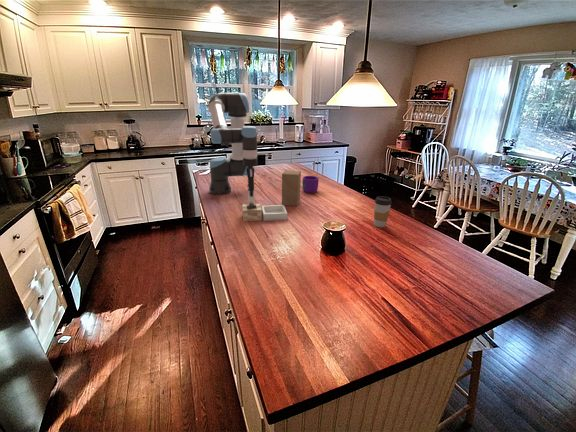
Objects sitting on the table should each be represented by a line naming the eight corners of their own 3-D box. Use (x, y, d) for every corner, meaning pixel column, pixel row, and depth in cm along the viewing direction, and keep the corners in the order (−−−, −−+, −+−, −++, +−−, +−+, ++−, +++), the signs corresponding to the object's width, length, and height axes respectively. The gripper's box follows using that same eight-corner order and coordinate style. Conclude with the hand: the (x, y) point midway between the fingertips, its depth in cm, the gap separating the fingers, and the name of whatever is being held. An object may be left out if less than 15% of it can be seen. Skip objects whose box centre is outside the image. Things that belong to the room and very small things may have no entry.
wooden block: (297, 206, 180) (298, 174, 172) (281, 205, 181) (281, 173, 174) (299, 201, 189) (301, 170, 181) (284, 199, 190) (285, 169, 183)
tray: (261, 212, 169) (261, 205, 168) (283, 211, 172) (283, 204, 170) (263, 221, 158) (263, 214, 156) (287, 219, 160) (287, 213, 158)
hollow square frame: (242, 214, 166) (242, 204, 164) (260, 213, 168) (259, 203, 166) (243, 221, 157) (242, 210, 155) (261, 220, 159) (261, 209, 156)
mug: (320, 192, 206) (321, 179, 202) (305, 194, 203) (305, 180, 199) (311, 186, 221) (312, 173, 217) (297, 187, 218) (297, 174, 214)
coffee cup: (376, 220, 161) (380, 194, 155) (390, 225, 155) (395, 198, 150) (368, 224, 155) (372, 198, 150) (382, 229, 150) (387, 202, 144)
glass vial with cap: (248, 208, 162) (247, 184, 157) (254, 207, 163) (253, 183, 157) (248, 210, 159) (247, 185, 154) (255, 210, 160) (254, 185, 154)
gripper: (242, 154, 157) (243, 195, 166) (243, 161, 142) (245, 206, 151) (256, 154, 158) (257, 195, 167) (258, 160, 143) (259, 205, 152)
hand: (251, 200), depth 159 cm, fingers closed on glass vial with cap, 3 cm apart
